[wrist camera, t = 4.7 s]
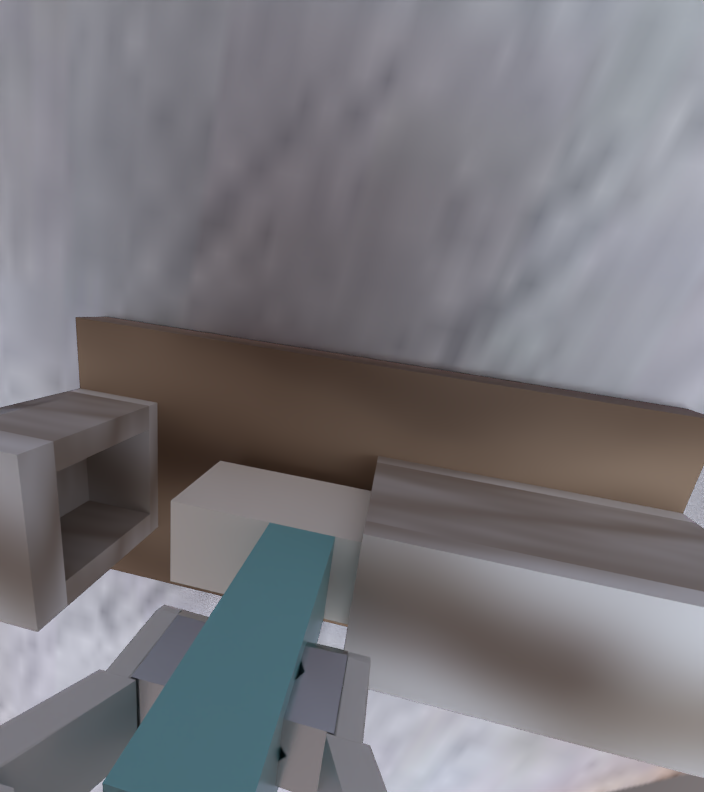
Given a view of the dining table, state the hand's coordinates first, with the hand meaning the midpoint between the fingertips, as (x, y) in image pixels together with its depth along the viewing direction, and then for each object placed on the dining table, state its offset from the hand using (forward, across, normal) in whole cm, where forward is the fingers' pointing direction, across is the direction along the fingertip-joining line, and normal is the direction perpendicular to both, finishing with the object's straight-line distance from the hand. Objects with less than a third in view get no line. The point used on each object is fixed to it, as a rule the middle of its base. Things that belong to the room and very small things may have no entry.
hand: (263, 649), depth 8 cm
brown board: (+8, -1, 0) cm, 8 cm away
